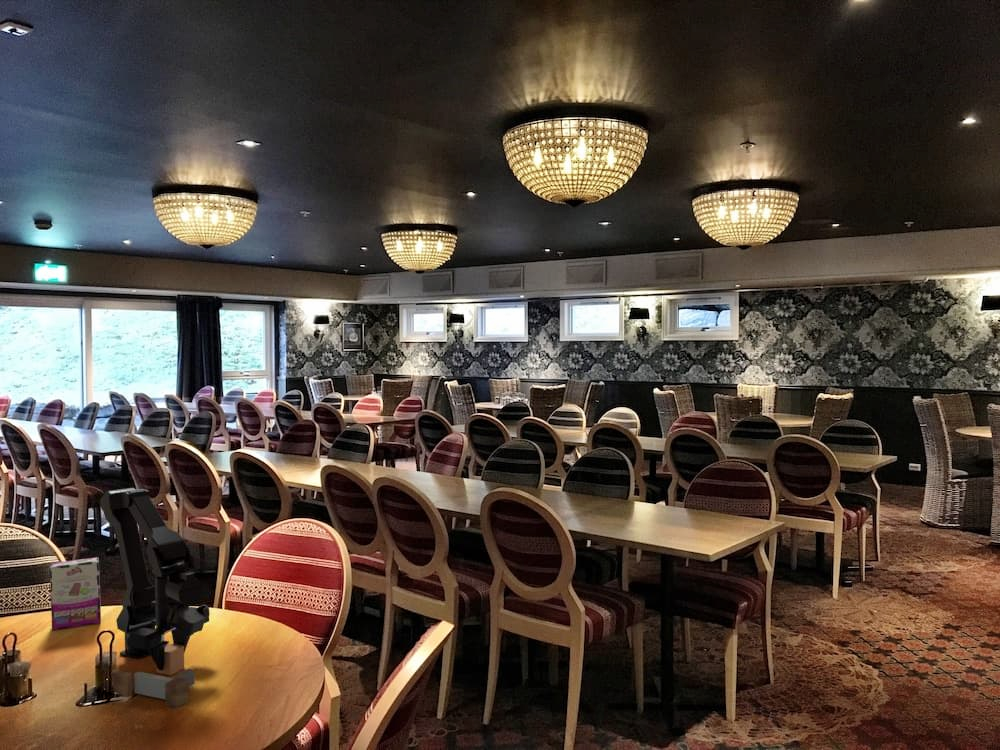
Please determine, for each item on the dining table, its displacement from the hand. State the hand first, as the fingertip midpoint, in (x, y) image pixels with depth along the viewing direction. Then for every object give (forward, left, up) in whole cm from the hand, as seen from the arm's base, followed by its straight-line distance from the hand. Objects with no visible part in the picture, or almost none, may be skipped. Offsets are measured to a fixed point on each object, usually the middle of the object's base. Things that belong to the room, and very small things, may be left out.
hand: (170, 665), depth 172 cm
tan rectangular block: (0, 0, -1) cm, 1 cm away
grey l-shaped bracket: (+7, -9, -1) cm, 11 cm away
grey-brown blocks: (+5, -12, -1) cm, 13 cm away
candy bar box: (-44, +13, -1) cm, 46 cm away
